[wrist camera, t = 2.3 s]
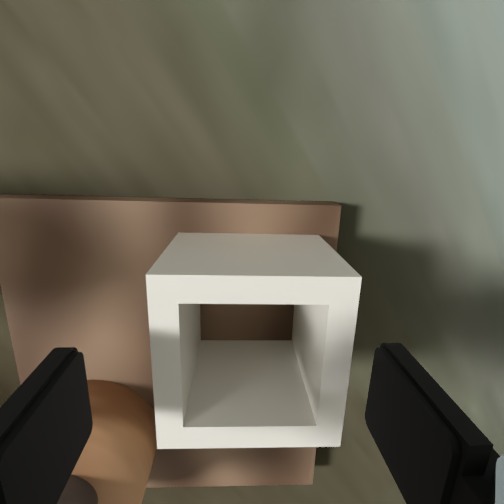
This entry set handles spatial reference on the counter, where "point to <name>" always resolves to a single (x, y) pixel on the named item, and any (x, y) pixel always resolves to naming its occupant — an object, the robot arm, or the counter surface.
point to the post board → (137, 326)
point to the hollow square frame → (251, 342)
